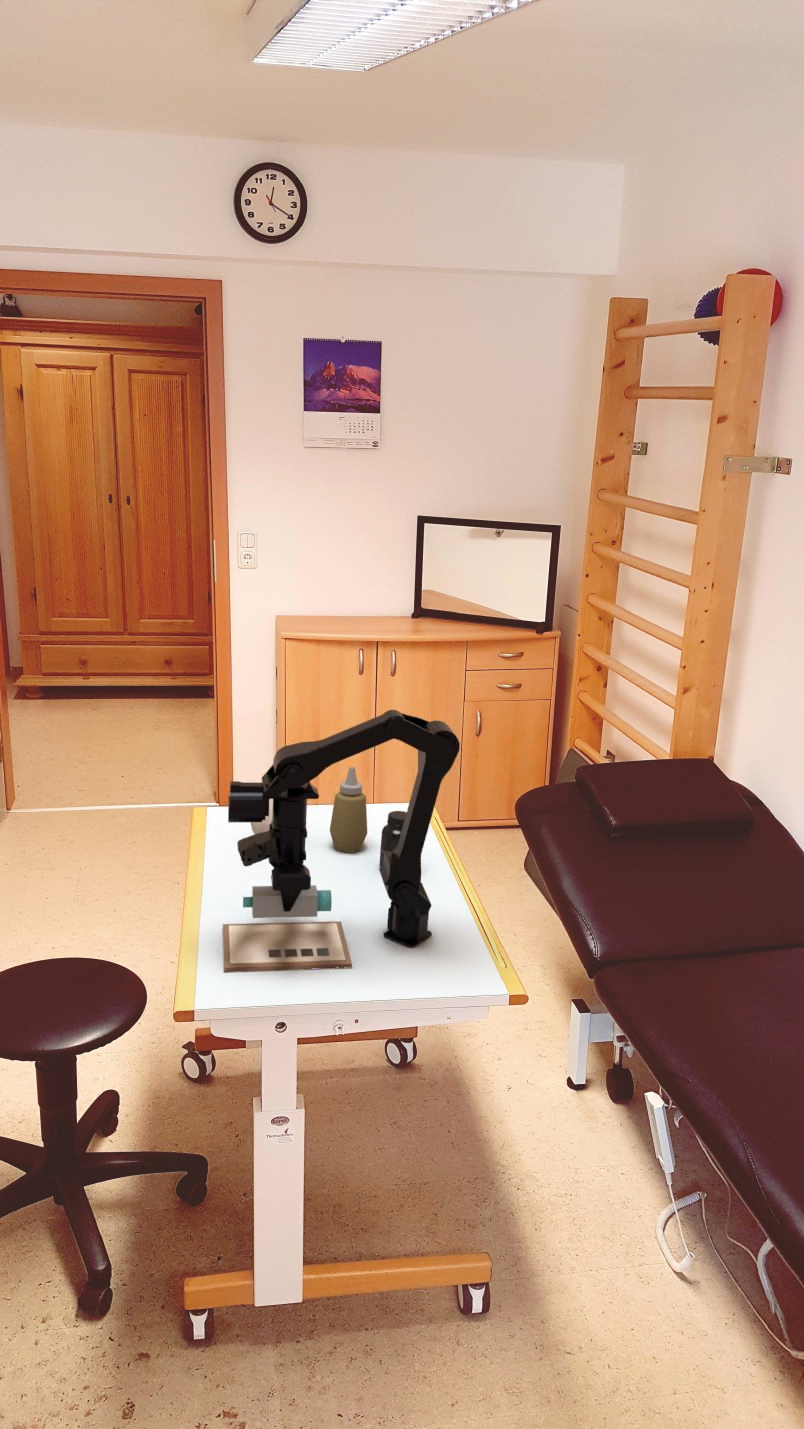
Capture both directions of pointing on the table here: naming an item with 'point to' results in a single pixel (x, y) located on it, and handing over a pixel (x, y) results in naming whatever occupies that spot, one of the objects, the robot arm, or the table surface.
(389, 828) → the supplement bottle
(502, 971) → the table surface
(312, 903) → the marker
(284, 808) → the robot arm
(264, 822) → the beige ball
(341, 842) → the squeeze bottle
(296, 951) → the brown framed board
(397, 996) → the table surface
